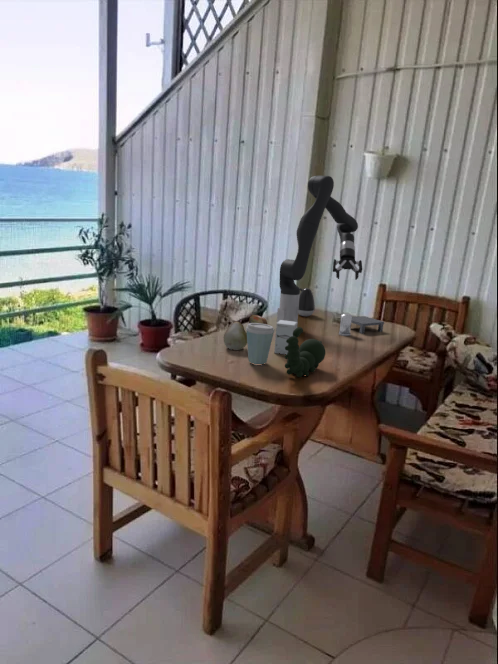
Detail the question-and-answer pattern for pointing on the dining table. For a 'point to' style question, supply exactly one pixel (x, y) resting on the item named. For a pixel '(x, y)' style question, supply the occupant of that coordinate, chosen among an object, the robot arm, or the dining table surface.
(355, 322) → the stand
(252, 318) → the tin
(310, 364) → the toy figurine
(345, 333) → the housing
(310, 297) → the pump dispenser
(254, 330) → the disposable coffee cup
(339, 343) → the dining table surface
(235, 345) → the fruit
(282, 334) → the supplement box
